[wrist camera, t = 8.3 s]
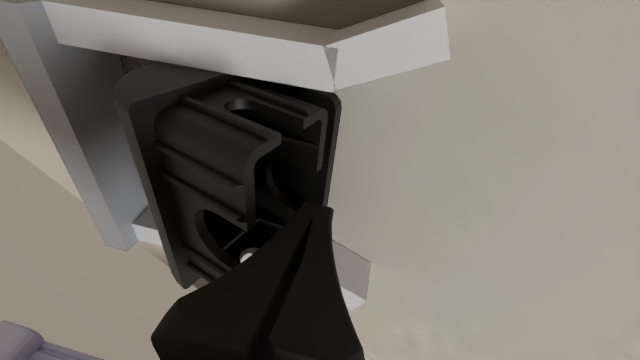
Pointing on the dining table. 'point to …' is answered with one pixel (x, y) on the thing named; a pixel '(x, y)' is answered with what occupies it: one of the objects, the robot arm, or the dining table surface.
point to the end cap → (224, 159)
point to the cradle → (198, 52)
